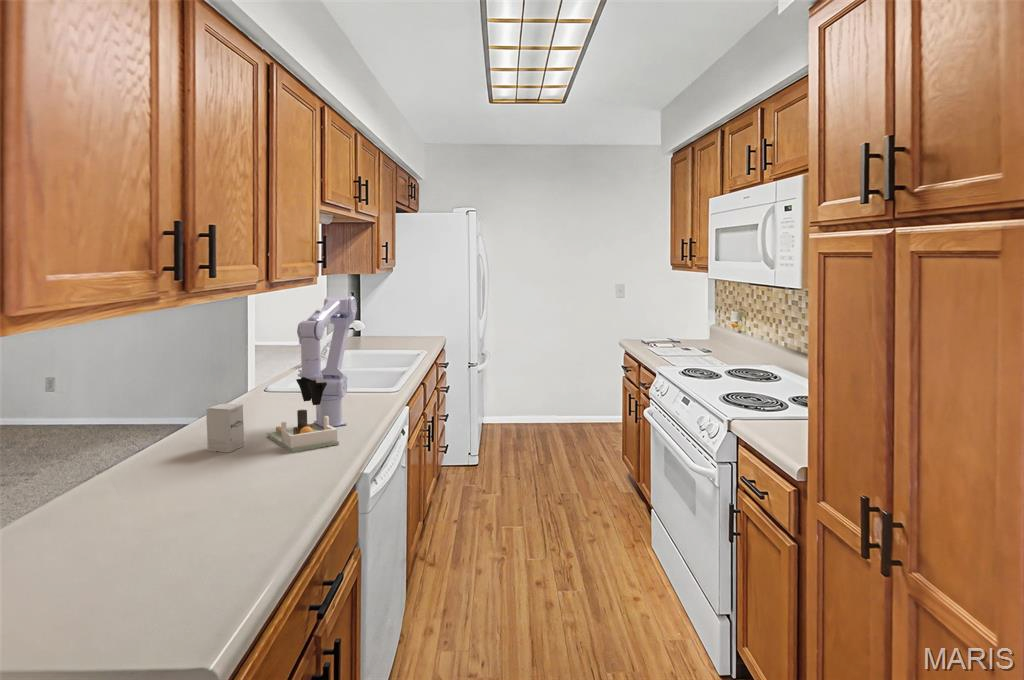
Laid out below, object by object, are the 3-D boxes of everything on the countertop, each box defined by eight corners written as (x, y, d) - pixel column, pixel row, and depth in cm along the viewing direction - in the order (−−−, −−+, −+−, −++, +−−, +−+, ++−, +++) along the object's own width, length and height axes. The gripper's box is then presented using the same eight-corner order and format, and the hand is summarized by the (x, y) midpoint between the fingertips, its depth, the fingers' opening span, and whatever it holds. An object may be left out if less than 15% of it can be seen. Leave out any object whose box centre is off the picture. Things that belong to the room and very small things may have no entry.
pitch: (266, 436, 212) (265, 414, 211) (311, 429, 221) (311, 408, 220) (291, 452, 195) (290, 428, 194) (339, 444, 204) (339, 421, 203)
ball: (301, 426, 202) (303, 440, 202) (314, 424, 204) (316, 438, 204) (296, 428, 205) (298, 441, 205) (309, 426, 208) (311, 439, 207)
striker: (293, 436, 207) (292, 410, 206) (309, 434, 210) (308, 408, 209) (296, 438, 205) (295, 412, 204) (312, 436, 208) (311, 410, 207)
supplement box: (230, 453, 194) (228, 409, 193) (207, 451, 196) (205, 408, 194) (245, 446, 201) (243, 403, 200) (222, 444, 203) (221, 402, 201)
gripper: (289, 357, 214) (290, 400, 216) (307, 362, 203) (307, 407, 204) (311, 356, 219) (312, 398, 220) (329, 361, 207) (330, 405, 208)
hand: (311, 402), depth 212 cm, fingers open, 7 cm apart
